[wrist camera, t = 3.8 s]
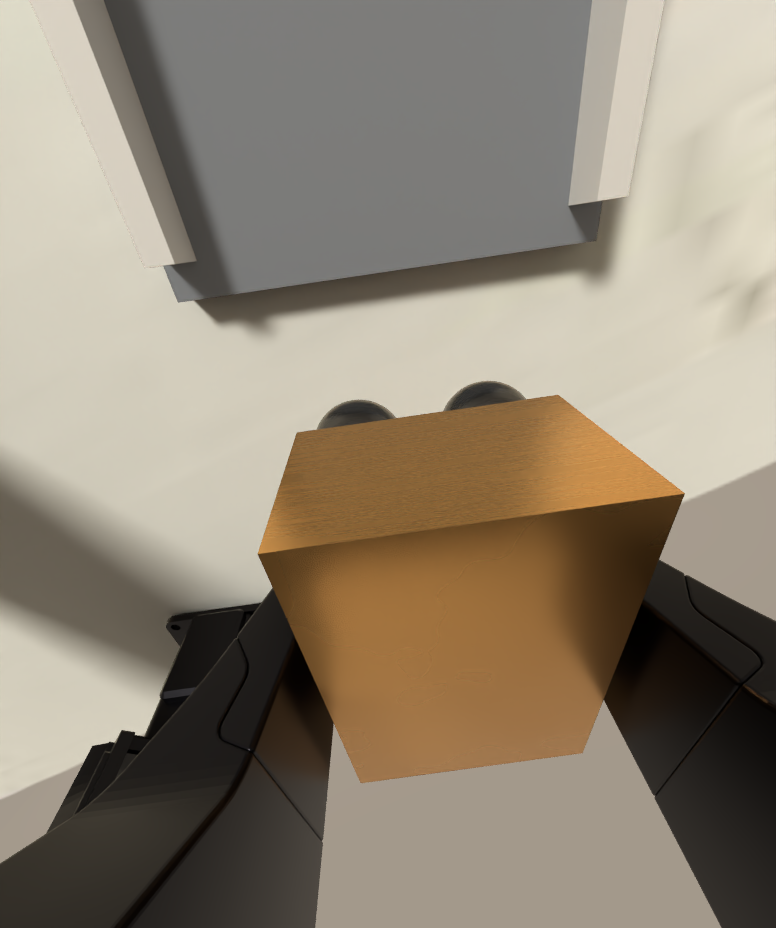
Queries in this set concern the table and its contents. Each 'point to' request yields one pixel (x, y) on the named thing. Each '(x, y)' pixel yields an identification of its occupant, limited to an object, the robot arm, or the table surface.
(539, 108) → the dock
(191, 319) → the table surface
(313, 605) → the trolley
